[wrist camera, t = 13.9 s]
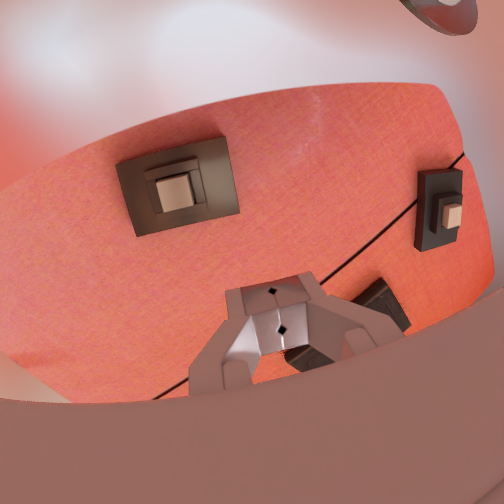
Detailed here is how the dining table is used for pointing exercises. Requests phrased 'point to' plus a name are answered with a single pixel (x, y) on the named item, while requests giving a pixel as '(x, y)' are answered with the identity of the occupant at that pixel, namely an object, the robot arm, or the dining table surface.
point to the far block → (436, 207)
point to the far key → (451, 215)
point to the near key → (175, 192)
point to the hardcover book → (373, 299)
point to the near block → (200, 177)
